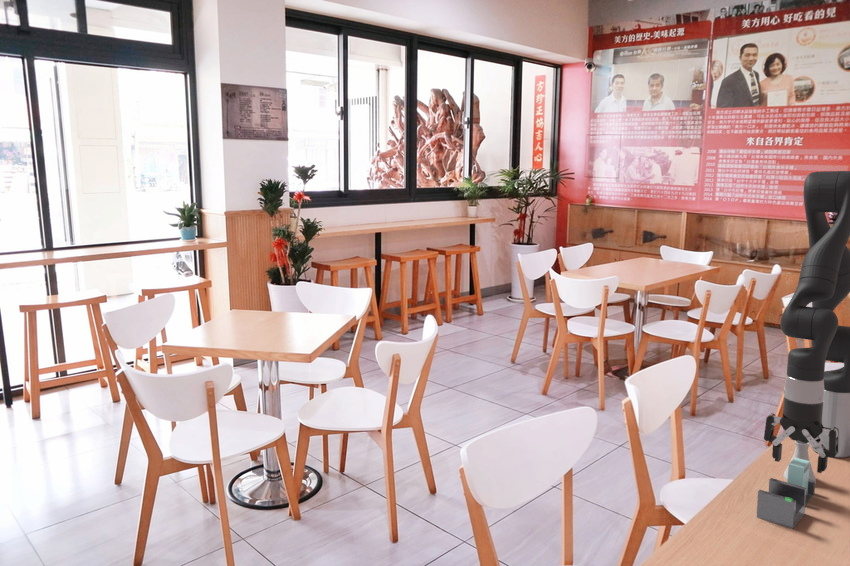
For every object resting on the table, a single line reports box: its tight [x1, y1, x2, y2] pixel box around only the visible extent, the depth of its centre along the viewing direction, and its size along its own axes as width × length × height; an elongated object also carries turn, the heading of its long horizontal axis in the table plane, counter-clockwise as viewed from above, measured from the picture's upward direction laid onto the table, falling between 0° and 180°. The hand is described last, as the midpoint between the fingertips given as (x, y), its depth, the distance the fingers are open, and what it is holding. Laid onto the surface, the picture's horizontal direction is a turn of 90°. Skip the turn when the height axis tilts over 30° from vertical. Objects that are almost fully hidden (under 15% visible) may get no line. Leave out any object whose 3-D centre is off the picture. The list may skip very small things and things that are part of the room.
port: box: [756, 477, 806, 530], centre depth 139 cm, size 8×7×7 cm
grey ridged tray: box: [805, 479, 816, 506], centre depth 147 cm, size 8×5×4 cm, turn 135°
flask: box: [783, 440, 817, 486], centre depth 154 cm, size 7×7×10 cm
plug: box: [787, 458, 811, 495], centre depth 147 cm, size 4×3×8 cm
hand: (798, 466), depth 146 cm, fingers open, 8 cm apart
